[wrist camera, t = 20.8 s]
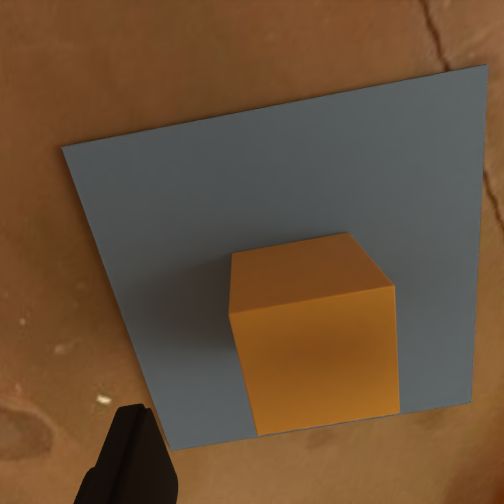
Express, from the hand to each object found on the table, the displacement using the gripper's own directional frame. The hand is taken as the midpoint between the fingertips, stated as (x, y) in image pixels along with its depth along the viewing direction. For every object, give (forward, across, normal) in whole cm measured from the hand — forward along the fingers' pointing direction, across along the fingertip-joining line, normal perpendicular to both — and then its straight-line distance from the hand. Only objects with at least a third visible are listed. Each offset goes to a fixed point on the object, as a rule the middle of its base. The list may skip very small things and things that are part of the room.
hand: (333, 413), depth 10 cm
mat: (+8, 0, +1) cm, 8 cm away
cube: (+7, 0, 0) cm, 7 cm away
